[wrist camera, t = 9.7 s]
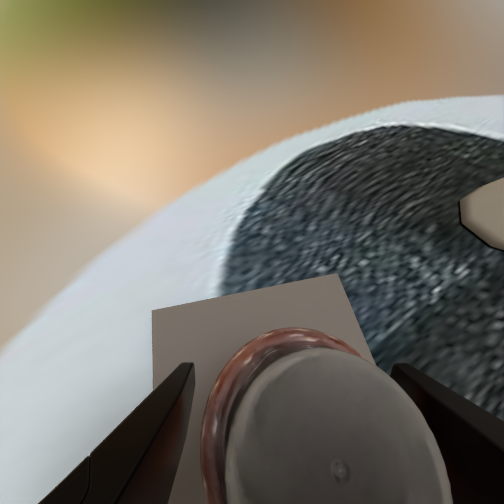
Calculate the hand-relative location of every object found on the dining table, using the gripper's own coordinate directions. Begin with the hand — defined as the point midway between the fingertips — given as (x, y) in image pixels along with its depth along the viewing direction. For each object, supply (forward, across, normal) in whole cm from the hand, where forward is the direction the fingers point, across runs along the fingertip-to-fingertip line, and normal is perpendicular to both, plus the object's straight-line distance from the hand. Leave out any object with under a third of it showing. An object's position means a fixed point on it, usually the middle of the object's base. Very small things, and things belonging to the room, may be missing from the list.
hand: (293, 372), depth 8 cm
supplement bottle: (+4, 0, +7) cm, 8 cm away
